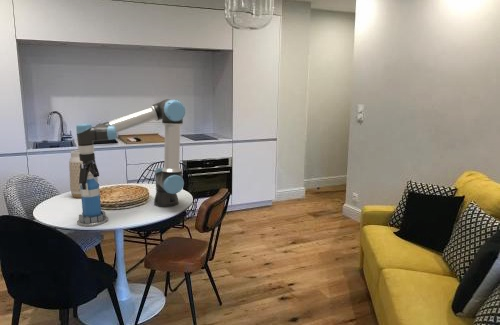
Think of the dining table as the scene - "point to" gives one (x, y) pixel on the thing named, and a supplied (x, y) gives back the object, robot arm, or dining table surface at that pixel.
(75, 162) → the vase
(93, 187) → the water bottle
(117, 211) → the dining table surface
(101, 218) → the grey gear
